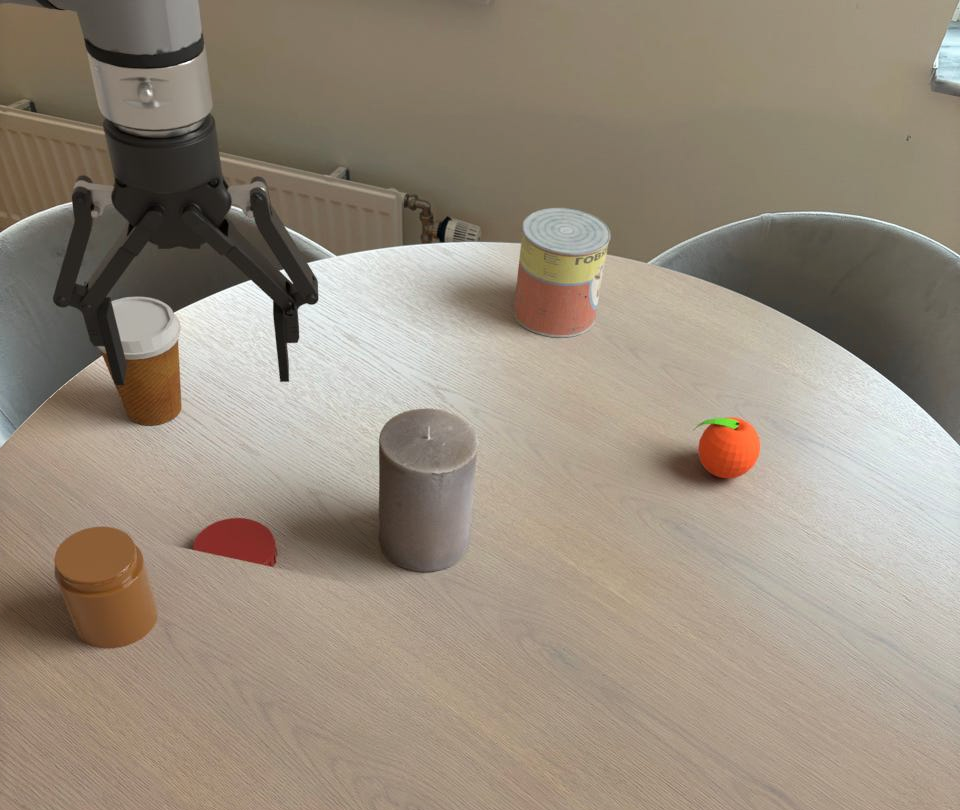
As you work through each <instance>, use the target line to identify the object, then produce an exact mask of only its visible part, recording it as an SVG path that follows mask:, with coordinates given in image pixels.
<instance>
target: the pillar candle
mask: <svg viewBox="0 0 960 810" xmlns="http://www.w3.org/2000/svg"><path fill="white" fill-rule="evenodd" d="M478 436H479V434H478V431H477V430H476V429H475V428H474V427H473V426H471V424H469V422H467V421H466V420H465V419H463V418H462V417H460V416H459V415H456V414H454V413H452V412H449V411H447V410H443V409H438V408H437V409H436V408H416V409H410V410H405V411H403V412H400V413H398V414H397V415H394V416H392V417H391V418H389V420H388V421H386V422H385V424H384V425H383V427H382V429H381V430H380V433H379V438H378V542H379V543H378V544H379V546H380V549H381V552H383V554H384V555H385V556H386V557H387V558H388V559H389V561H391V562H392V563H394V564H395V565H396V566H399V567H400V568H404V569H406V570H410V571H413V572H414V571H415V572H426V573H427V572H428V573H429V572H436V571H440V570H445V569H448V568H450V567H451V566H453V565H455V564H457V563H458V562H459V561H460V560H461V559H462V557H463V556H464V554H465V552H466V551H467V549H468V546H469V543H470V534H471V525H472V514H473V513H472V512H473V505H474V503H473V502H474V493H475V492H474V491H475V480H476V479H475V478H476V471H477V470H476V467H477V458H478V449H479V439H478Z"/></svg>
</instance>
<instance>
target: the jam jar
mask: <svg viewBox="0 0 960 810" xmlns="http://www.w3.org/2000/svg"><path fill="white" fill-rule="evenodd" d="M53 572H54V578H55V581H56V583H57V586H58V588H59V591H60V593H61V596H62V599H63V601H64V604H65V606H66V609H67V612H68V614H69V617H70V619H71V622H72V625H73V627H74V629H75V632H76V634H77V636H78V637H79V638H80V639H81V640H82V641H83V642H85V643H87V644H88V645H91V646H92V647H96V648H102V649H119V648H123V647H127V646H130V645H133V644H135V643H137V642H138V641H140V640H142V639H143V638H145V637H146V636H147V635H148V634H149V633H151V631H152V630H153V628H155V625H156V624H157V621H158V619H159V607H158V604H157V601H156V598H155V597H156V596H155V594H154V591H153V587H152V583H151V580H150V579H151V578H150V576H149V572H148V569H147V564H146V562H145V559H144V554H143V553H142V550H141V549H140V548H139V547H138V545H137V544H135V542H134V540H133V538H132V537H131V536H130V535H129V534H128V533H126V531H123V530H122V529H118V528H115V527H113V526H112V527H110V526H91V527H88V528H87V527H86V528H84V529H81V530H78V531H76V532H74V533H72V534H71V535H69V536H68V537H66V538H65V539H64V540H63V541H62V542H61V543H60V544H59V546H58V547H57V548H56V551H55V553H54V571H53Z"/></svg>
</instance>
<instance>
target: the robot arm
mask: <svg viewBox="0 0 960 810" xmlns="http://www.w3.org/2000/svg"><path fill="white" fill-rule="evenodd" d="M1 4H14V5H21V6H28V7H36V8H42V9H49V10H57V11H71V12H74V13H76V15H77V18H78V22H79V27H80V29H81V32H82V36H83V40H84V45H85V51H86V56H87V60H88V64H89V69H90V73H91V77H92V82H93V83H92V84H93V87H94V92H95V97H96V102H97V106H98V108H99V111H100V114H101V115H102V116H103V117H104V119H103V122H102V128H103V133H104V137H105V142H106V148H107V152H108V155H109V160H110V165H111V170H112V174H113V179H114V180H113V181H114V183H113V185H111V184H100V183H94V182H93V180H92V178H91V177H89V176H88V175H83V174H82V175H79V176H78V177H77V178H76V179H75V183H74V187H73V190H72V194H71V203H72V211H73V217H74V220H73V224H72V227H71V231H70V234H69V238H68V242H67V244H66V248H65V252H64V256H63V259H62V262H61V266H60V270H59V274H58V277H57V281H56V284H55V288H54V292H53V298H52V301H53V303H54V304H55V305H56V306H57V307H59V308H62V309H63V308H67V307H68V306H69V307H71V308H74V309H77V310H78V311H79V312H81V314H82V316H83V320H84V324H85V328H86V330H87V334H88V338H89V341H90V343H91V344H92V345H93V347H97V346H105V350H106V354H107V358H108V361H109V365H110V369H111V373H112V377H113V380H114V382H113V384H114V386H115V385H124V382H125V376H126V370H127V363H126V359H125V355H124V351H123V347H122V343H121V339H120V335H119V331H118V327H117V323H116V319H115V314H114V310H113V306H112V302H111V301H112V299H111V297H110V296H108V295H109V294H110V292H111V291H112V289H113V288H114V287H115V285H116V284H117V282H118V281H119V279H120V278H121V277H122V275H123V274H124V273H125V271H126V270H127V268H128V267H129V266H130V264H132V261H133V260H134V259H135V258H137V257H138V256H139V255H140V253H141V252H142V251H143V249H144V248H145V246H146V245H147V244H148V243H150V244H152V245H154V246H157V248H158V250H171V249H174V248H178V247H181V248H185V249H190V250H201V249H202V246H204V245H208V246H210V247H211V248H212V249H213V250H214V251H215V252H216V253H217V254H219V256H221V257H225V258H227V259H228V260H229V261H230V262H231V263H232V264H233V265H234V266H235V267H236V268H237V269H238V270H239V271H240V272H242V273H243V274H244V275H245V276H246V277H247V278H248V279H250V281H252V282H253V284H255V285H256V286H257V287H258V288H259V289H260V290H261V291H262V292H263V293H264V294H266V295H267V297H269V298H270V299H271V300H272V315H273V316H272V318H273V326H274V335H275V337H274V338H275V345H276V346H275V347H276V356H277V362H278V363H277V366H278V375H279V382H280V383H289V382H290V362H289V351H288V344H298V342H299V340H300V322H299V321H300V320H299V313H298V312H299V308H300V307H302V306H304V305H309V306H313V305H314V306H315V305H316V304H317V303H318V302H319V298H320V297H319V281H318V278H317V276H316V275H315V273H314V272H313V270H312V268H311V266H310V265H309V263H308V262H307V260H306V258H305V257H304V255H303V254H302V253H301V250H300V249H299V248H298V246H297V243H295V240H294V239H293V238H292V236H291V235H290V233H289V231H288V229H287V228H286V226H285V224H284V223H283V222H282V219H281V218H280V216H279V215H278V213H277V212H276V210H275V209H274V207H273V205H272V201H271V196H270V192H269V188H268V183H267V181H266V179H265V178H264V177H262V176H259V175H257V176H254V177H252V179H251V180H250V183H245V184H237V185H229V184H228V183H227V181H226V179H225V177H224V175H223V171H222V170H223V169H222V162H221V154H220V148H219V141H218V133H217V125H216V120H215V118H214V116H213V115H212V114H211V111H212V109H213V107H214V103H213V95H212V88H211V87H212V86H211V80H210V79H211V78H210V72H209V65H208V55H207V49H206V43H205V39H204V33H203V29H202V19H201V12H200V11H201V10H200V3H199V0H0V5H1ZM108 206H113V207H114V209H115V211H117V212H118V213H119V215H121V216H122V217H123V218H124V219H125V220H126V221H127V222H126V224H125V226H124V228H123V229H122V232H121V233H120V235H119V236H118V237H117V238H116V240H115V241H114V243H113V244H112V246H111V247H110V248H109V250H108V252H107V253H106V254H105V256H104V257H103V259H102V260H101V261H100V263H99V264H98V266H97V267H96V269H94V271H93V273H92V274H91V275H90V277H89V278H88V280H87V281H84V283H83V284H78V283H77V279H78V276H79V273H80V271H81V267H82V264H83V260H84V256H85V253H86V250H87V246H88V244H89V239H90V237H91V233H92V228H93V223H94V219H97V218H101V217H102V216H103V215H104V214H105V209H106V208H107V207H108ZM232 206H237V207H238V208H239V209H241V211H242V213H243V214H244V215H245V216H246V217H247V218H249V219H254V222H255V225H256V227H257V229H258V231H259V233H260V234H261V236H262V238H263V240H264V241H265V242H266V244H267V246H268V247H269V249H270V250H271V252H272V253H273V255H274V256H275V258H276V259H277V261H278V263H279V265H280V266H281V267H282V269H283V271H284V272H285V274H286V275H287V276H288V277H287V276H285V274H283V273H282V271H280V270H279V269H278V267H276V266H275V265H274V263H272V262H271V261H270V260H269V259H268V258H267V257H266V256H265V255H264V254H263V253H262V252H261V251H259V249H258V248H256V246H255V245H254V244H253V243H251V242H250V241H249V240H248V239H247V238H246V237H245V236H244V235H243V234H242V233H241V232H240V231H239V230H238V229H237V226H236V225H235V223H234V222H233V221H232V220H231V219H230V218H229V217H228V213H229V212H230V210H231V208H232ZM112 377H111V378H112ZM113 380H112V381H113Z"/></svg>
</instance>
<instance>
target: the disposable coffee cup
mask: <svg viewBox="0 0 960 810" xmlns="http://www.w3.org/2000/svg"><path fill="white" fill-rule="evenodd" d="M111 302H112V306H113V310H114V314H115V319H116V323H117V327H118V331H119V335H120V339H121V343H122V347H123V351H124V355H125V359H126V363H127V370H126V376H125V382H124V385H115V384H114V386H115V389H116V391H117V393H118V396H119V399H120V400H121V404H122V405H123V408H124V410H125V412H126V415H127V417H128V418H129V419H130V420H131V421H133V422H134V423H137V424H139V425H144V426H157V425H158V426H159V425H163V424H166V423H168V422H170V421H173V420H174V419H175V418H176V417H178V415H180V413H181V411H182V389H181V387H182V386H181V370H180V350H179V338H180V334H181V328H182V327H181V326H182V325H181V322H180V320H179V317H177V315H176V314H175V313H174V310H173V309H172V308H171V306H170V305H168V304H167V303H165V302H163V301H161V299H157V298H153V297H147V296H127V297H126V296H125V297H121V298H118V299H114V300H111ZM96 347H97V348H98V350H99V352H100V353H101V356H102V358H103V361H104V364H105V366H106V367H107V371H108V372H109V376H110V377H111V380H112V383H114V380H113V377H112V373H111V369H110V365H109V361H108V358H107V354H106V350H105V346H96Z"/></svg>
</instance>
